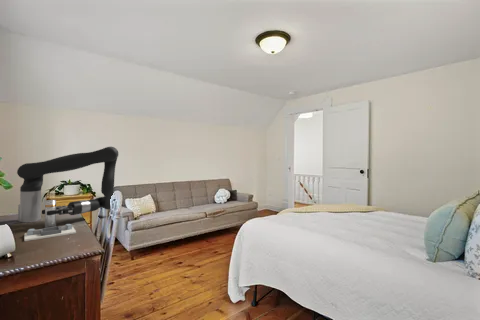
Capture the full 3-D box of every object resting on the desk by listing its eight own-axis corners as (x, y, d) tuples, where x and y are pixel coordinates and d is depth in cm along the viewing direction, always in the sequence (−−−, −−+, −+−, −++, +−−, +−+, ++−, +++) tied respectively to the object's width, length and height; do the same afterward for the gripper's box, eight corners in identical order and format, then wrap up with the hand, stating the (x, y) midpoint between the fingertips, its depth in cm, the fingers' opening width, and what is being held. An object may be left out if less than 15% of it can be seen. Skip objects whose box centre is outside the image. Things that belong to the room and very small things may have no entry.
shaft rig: (24, 241, 107) (24, 234, 107) (24, 235, 115) (24, 228, 115) (76, 233, 120) (76, 227, 120) (72, 228, 128) (73, 222, 128)
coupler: (42, 228, 127) (42, 201, 127) (49, 225, 132) (50, 199, 132) (50, 228, 127) (51, 201, 127) (58, 225, 131) (58, 199, 131)
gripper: (72, 199, 145) (37, 204, 130) (86, 202, 138) (51, 207, 123) (72, 212, 145) (37, 218, 130) (86, 215, 138) (51, 222, 123)
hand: (44, 212), depth 127 cm, fingers closed on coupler, 4 cm apart
